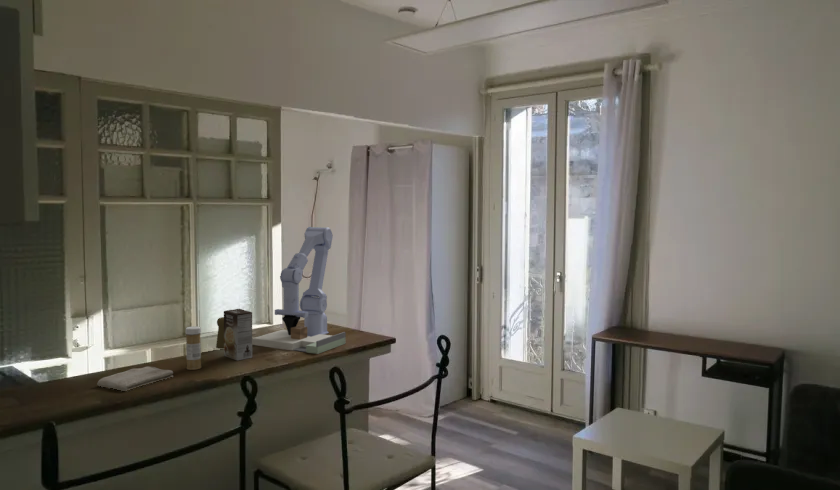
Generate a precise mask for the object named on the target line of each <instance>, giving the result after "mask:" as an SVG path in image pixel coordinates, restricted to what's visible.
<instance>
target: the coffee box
mask: <svg viewBox="0 0 840 490" xmlns="http://www.w3.org/2000/svg"><path fill="white" fill-rule="evenodd" d="M223 317H224V349H223V354H224V357H227V358H229V359H231V360H235V361H242V360H247V359H251V358H253V345H252V338H253V312H252V311H249V310H245V309H242V308H233V309H228V310H223Z"/></svg>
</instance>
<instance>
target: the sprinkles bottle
mask: <svg viewBox="0 0 840 490" xmlns="http://www.w3.org/2000/svg"><path fill="white" fill-rule="evenodd" d="M201 334H202V328H201V327H200V326H198V325H197V326H194V325H193V326H187V327H186V328H185V337H186V339H185V340H186V344H185V347H186V349H185V350H186V353H185V354H186V370H188V371H196V370H200V369H201V368H202V346H201V345H202V344H201Z"/></svg>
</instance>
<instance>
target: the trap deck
mask: <svg viewBox="0 0 840 490" xmlns="http://www.w3.org/2000/svg"><path fill="white" fill-rule="evenodd" d="M346 332H347V331H346ZM346 332H345V331H343V332H340V333H337V334H334V335H332V334H331V335H330V334H324V335H323V334H318V335H315V336H312V337H310V336H307V338H304V339H292V338H291V335H288V331H287V329H280V330H275V331H274V332H269V333H265V334H263V335H259V336H256V337H252V346H259V347H265V348H272V349H280V350H287V351H293V352H303V353H308V354H316V355H319V354H322V353H324V352H326V351H330V350H332V349H334V348H338V347H341V346H343V345H345V344H346V342H347V341H346V336H347V335H346Z"/></svg>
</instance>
